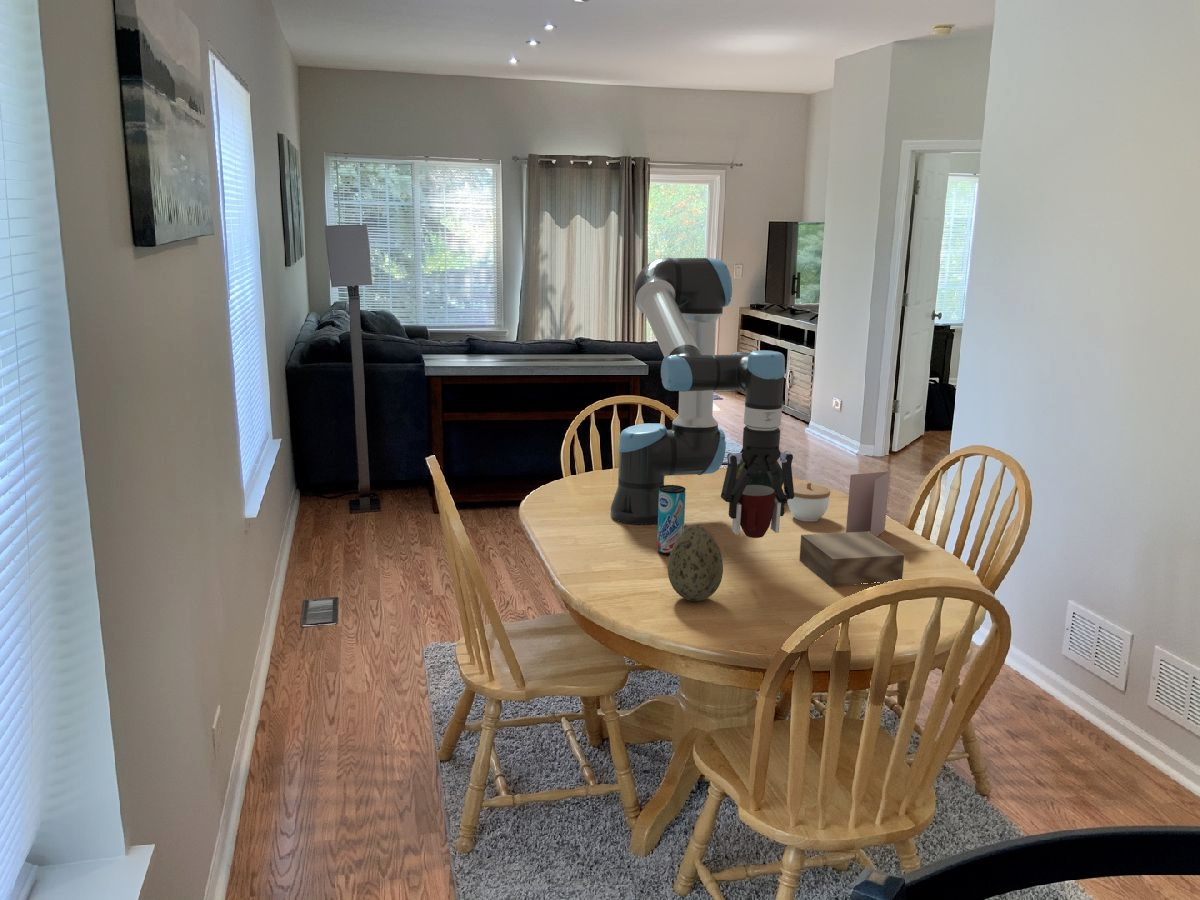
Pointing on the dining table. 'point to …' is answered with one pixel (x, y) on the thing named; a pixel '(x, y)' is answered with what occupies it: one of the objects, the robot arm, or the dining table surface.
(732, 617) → the dining table surface
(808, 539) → the walnut block
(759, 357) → the robot arm
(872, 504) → the greeting card
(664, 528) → the beverage can
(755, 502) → the mug
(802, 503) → the lidded jar
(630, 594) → the dining table surface
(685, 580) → the decorative egg
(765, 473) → the squash
